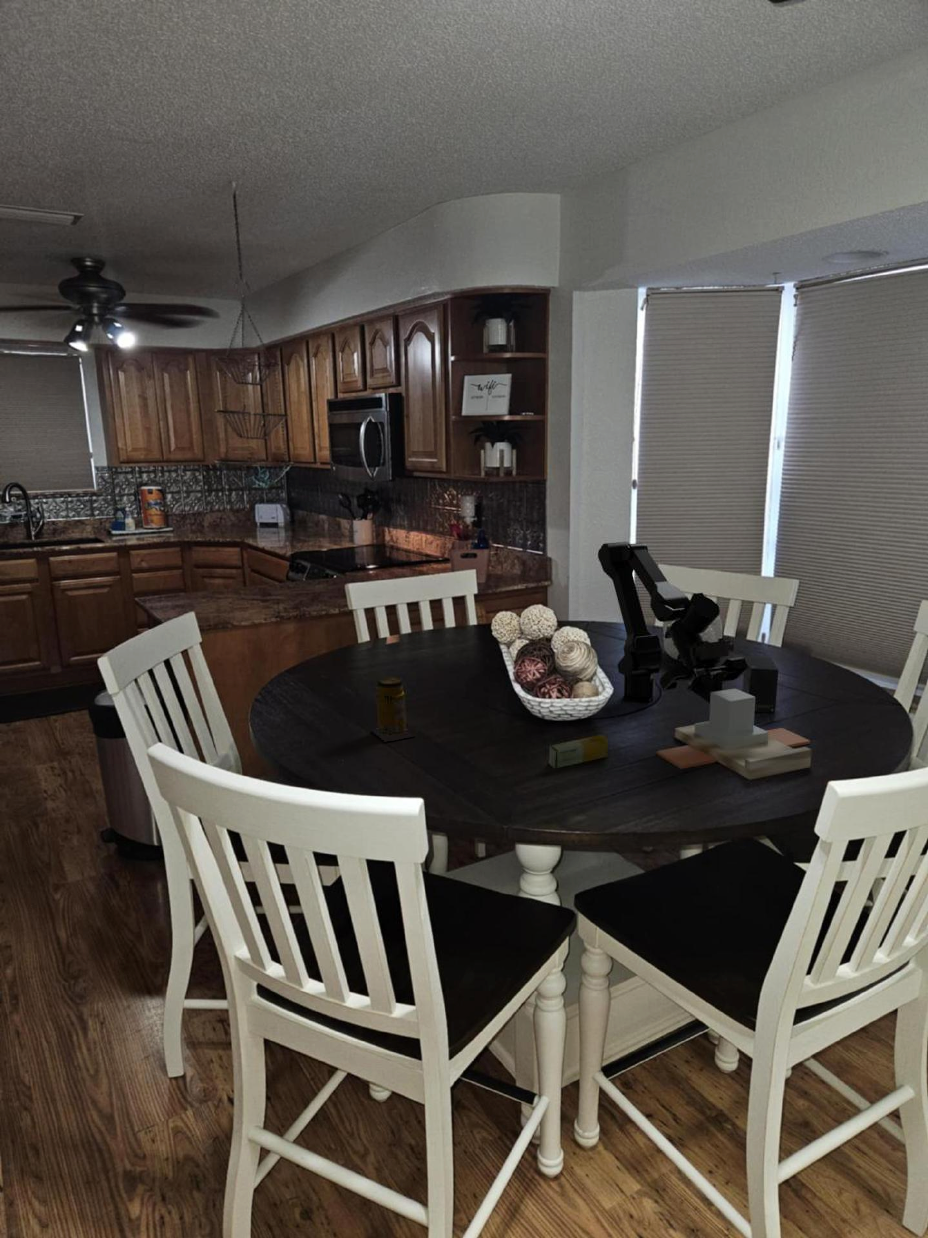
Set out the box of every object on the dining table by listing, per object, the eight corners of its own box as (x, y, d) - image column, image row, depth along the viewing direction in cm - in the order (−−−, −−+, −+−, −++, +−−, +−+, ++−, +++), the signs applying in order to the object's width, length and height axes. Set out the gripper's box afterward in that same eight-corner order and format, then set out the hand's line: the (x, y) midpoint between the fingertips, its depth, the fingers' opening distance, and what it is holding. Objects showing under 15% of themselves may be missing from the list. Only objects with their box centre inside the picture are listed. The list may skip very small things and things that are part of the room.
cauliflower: (657, 617, 235) (685, 580, 223) (710, 644, 235) (741, 608, 223) (646, 661, 221) (675, 624, 209) (702, 690, 220) (734, 655, 209)
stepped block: (694, 732, 162) (696, 690, 160) (734, 725, 166) (736, 684, 164) (726, 749, 153) (728, 705, 151) (768, 741, 156) (770, 698, 154)
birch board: (675, 737, 165) (675, 721, 165) (730, 727, 170) (730, 711, 169) (749, 779, 144) (750, 761, 144) (810, 767, 149) (811, 749, 148)
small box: (777, 713, 177) (780, 669, 175) (746, 712, 179) (749, 668, 176) (769, 698, 188) (772, 656, 185) (740, 697, 189) (742, 655, 186)
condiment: (401, 725, 177) (399, 674, 174) (416, 737, 169) (413, 684, 167) (370, 731, 174) (367, 679, 171) (384, 744, 166) (381, 689, 164)
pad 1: (656, 754, 157) (656, 751, 157) (690, 747, 160) (690, 744, 160) (680, 769, 150) (680, 766, 150) (715, 762, 152) (716, 759, 152)
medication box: (554, 770, 152) (555, 751, 150) (547, 763, 154) (548, 745, 153) (608, 757, 156) (609, 739, 155) (600, 751, 158) (601, 733, 157)
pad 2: (751, 736, 165) (751, 733, 165) (781, 730, 167) (781, 727, 167) (778, 749, 157) (778, 746, 157) (810, 743, 160) (810, 740, 160)
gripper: (669, 629, 159) (701, 697, 152) (745, 619, 166) (779, 684, 158) (646, 657, 168) (675, 723, 161) (719, 647, 174) (750, 710, 167)
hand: (721, 709), depth 161 cm, fingers closed, pressing on stepped block
